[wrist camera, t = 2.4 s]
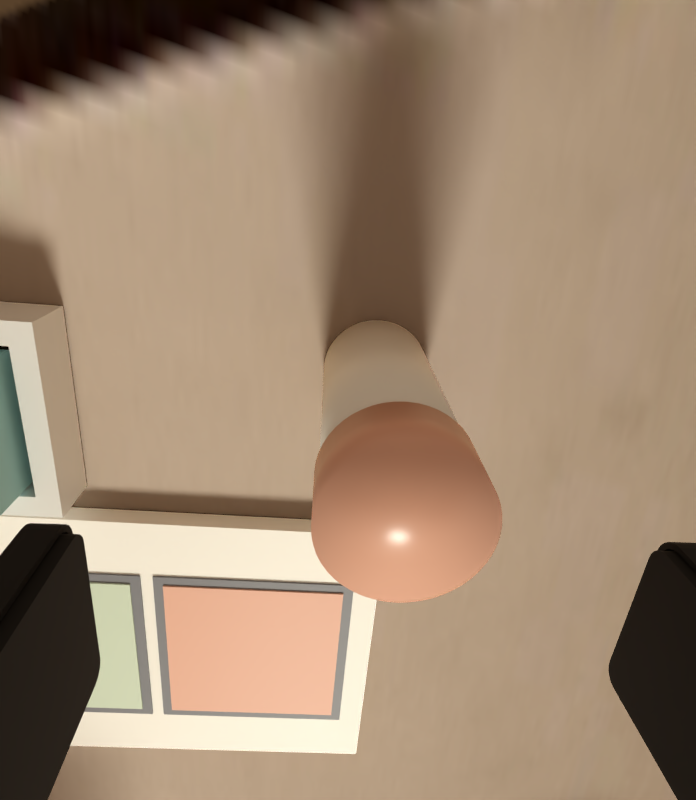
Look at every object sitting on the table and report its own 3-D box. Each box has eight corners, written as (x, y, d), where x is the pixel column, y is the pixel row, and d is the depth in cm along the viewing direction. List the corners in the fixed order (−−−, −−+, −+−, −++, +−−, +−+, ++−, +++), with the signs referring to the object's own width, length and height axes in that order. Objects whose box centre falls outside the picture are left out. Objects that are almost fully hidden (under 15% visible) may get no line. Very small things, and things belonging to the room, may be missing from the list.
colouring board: (383, 523, 22) (385, 538, 21) (355, 737, 27) (355, 756, 26) (-84, 499, 21) (-103, 513, 20) (-19, 726, 26) (-31, 746, 25)
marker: (436, 321, 18) (520, 451, 10) (421, 421, 20) (482, 606, 12) (324, 312, 18) (316, 439, 10) (317, 415, 20) (306, 598, 11)
